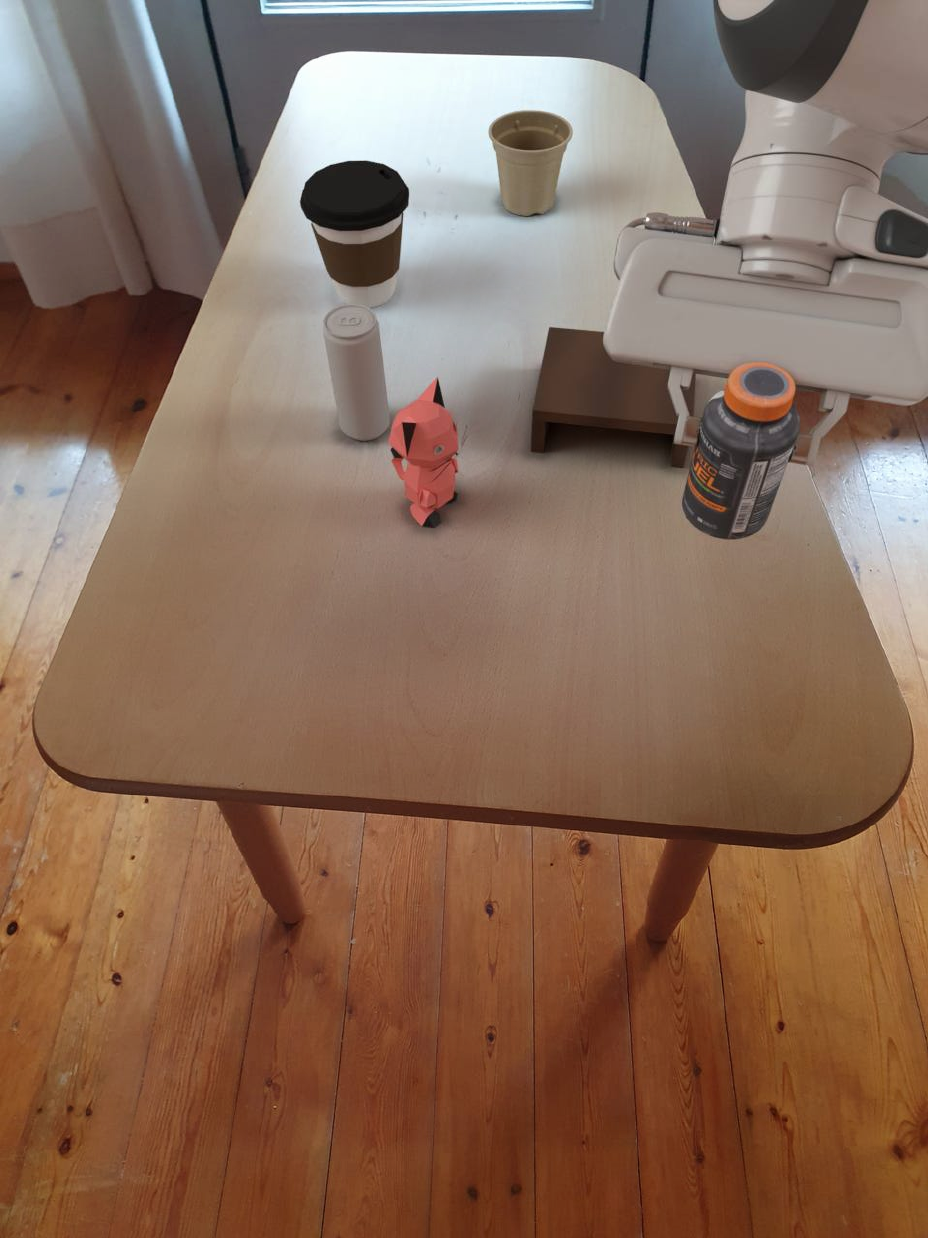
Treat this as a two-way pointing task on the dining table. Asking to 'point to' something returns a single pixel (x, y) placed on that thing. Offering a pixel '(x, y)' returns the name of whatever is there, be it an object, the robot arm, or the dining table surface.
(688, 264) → the robot arm
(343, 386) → the beverage can
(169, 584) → the dining table surface
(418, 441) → the cat figurine
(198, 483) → the dining table surface
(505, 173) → the flower pot
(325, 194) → the coffee cup
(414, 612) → the dining table surface
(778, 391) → the pill bottle
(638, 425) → the shelf
